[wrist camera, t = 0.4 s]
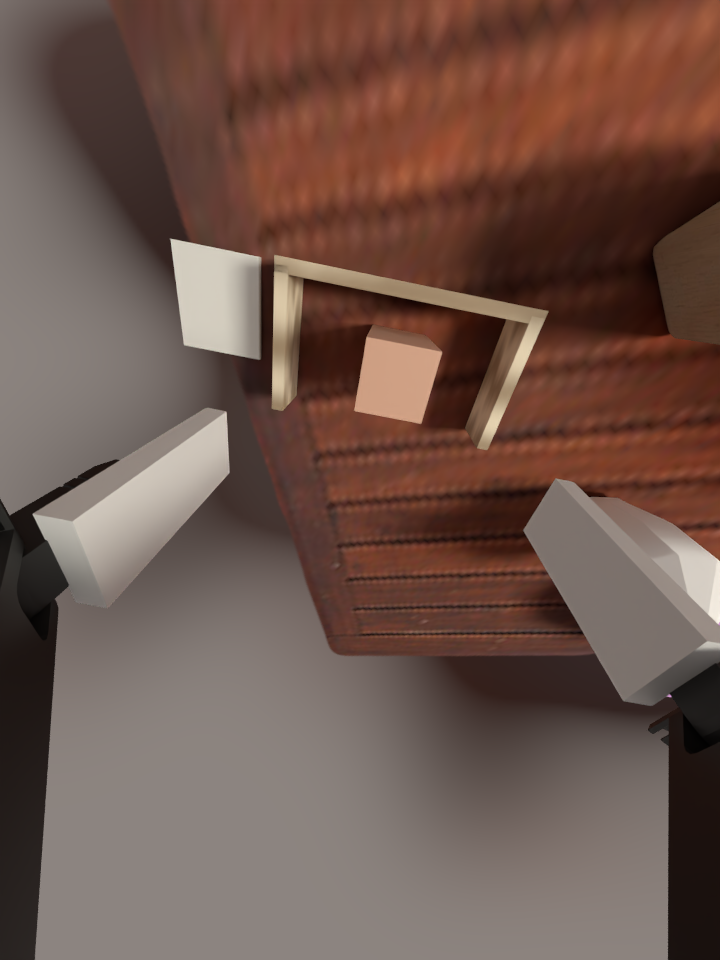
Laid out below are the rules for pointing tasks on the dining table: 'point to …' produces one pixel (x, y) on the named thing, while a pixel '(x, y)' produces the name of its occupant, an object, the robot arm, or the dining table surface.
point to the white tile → (218, 298)
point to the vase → (670, 552)
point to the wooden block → (691, 277)
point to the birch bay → (513, 338)
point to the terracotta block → (397, 374)
